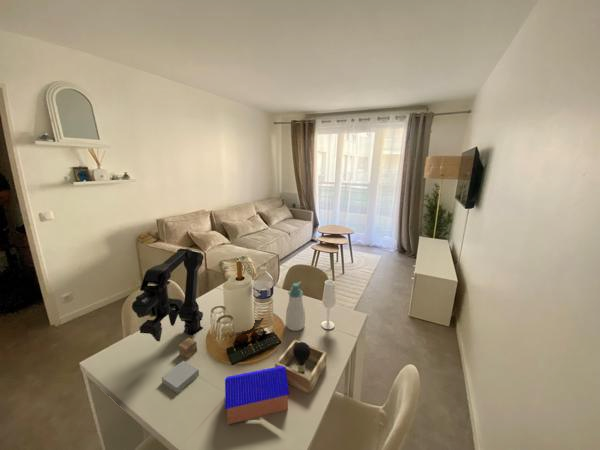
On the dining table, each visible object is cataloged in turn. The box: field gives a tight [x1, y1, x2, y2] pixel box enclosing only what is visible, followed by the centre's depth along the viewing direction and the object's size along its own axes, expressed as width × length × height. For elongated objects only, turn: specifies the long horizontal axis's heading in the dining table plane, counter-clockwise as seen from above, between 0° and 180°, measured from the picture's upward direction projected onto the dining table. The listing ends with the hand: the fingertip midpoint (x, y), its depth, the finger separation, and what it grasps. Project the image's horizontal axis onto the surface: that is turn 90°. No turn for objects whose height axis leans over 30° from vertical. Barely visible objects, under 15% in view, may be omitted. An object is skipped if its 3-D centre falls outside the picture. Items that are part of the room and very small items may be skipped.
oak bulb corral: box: [274, 339, 328, 395], centre depth 95 cm, size 15×15×6 cm
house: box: [224, 366, 290, 425], centre depth 82 cm, size 12×20×12 cm, turn 105°
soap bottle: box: [285, 281, 306, 332], centre depth 120 cm, size 10×10×23 cm
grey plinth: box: [161, 360, 200, 395], centre depth 91 cm, size 9×9×3 cm
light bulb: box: [293, 341, 310, 373], centre depth 94 cm, size 7×7×12 cm
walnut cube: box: [178, 337, 198, 360], centre depth 103 cm, size 5×5×5 cm
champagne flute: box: [321, 279, 336, 330], centre depth 120 cm, size 7×7×24 cm
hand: (165, 332), depth 98 cm, fingers open, 9 cm apart
